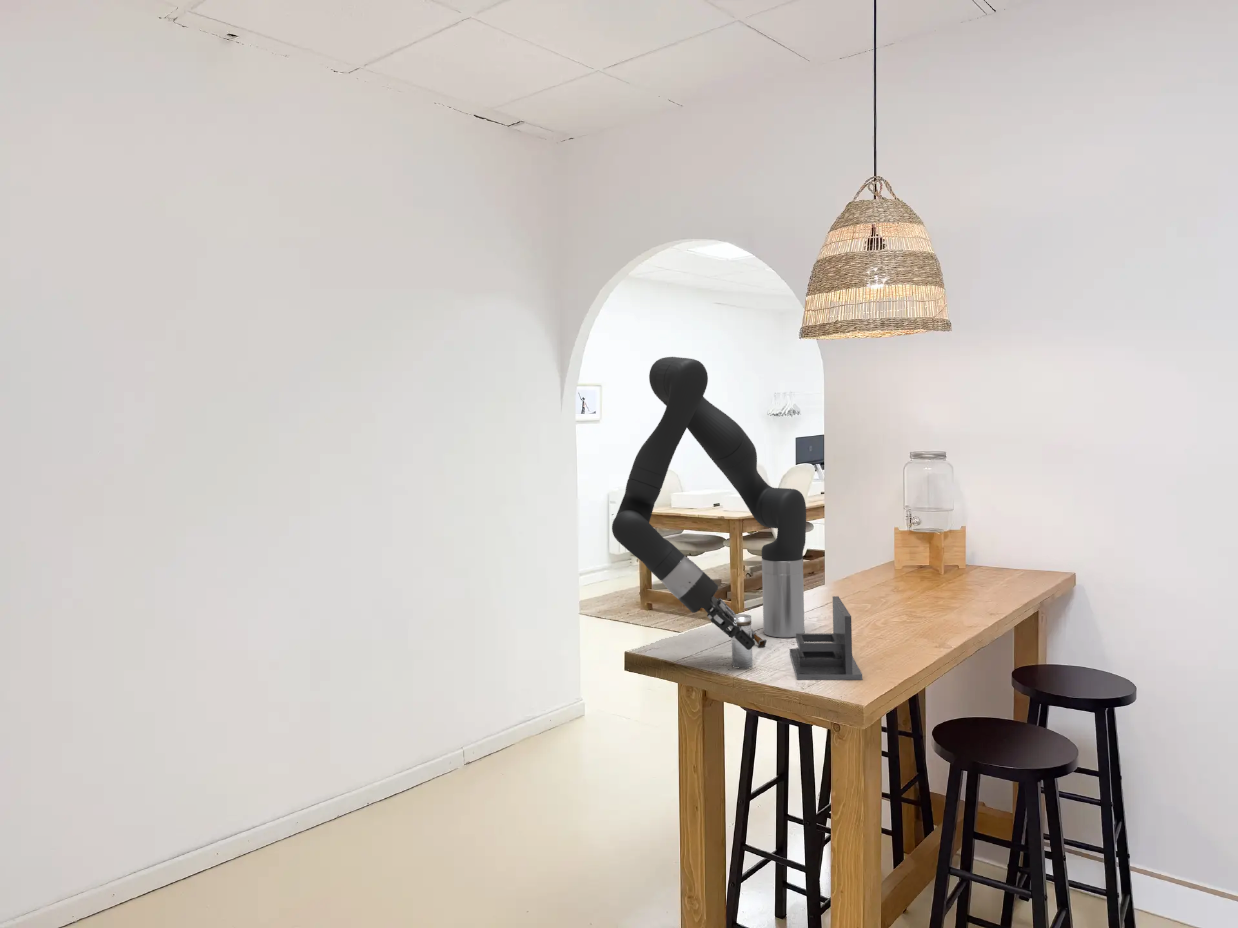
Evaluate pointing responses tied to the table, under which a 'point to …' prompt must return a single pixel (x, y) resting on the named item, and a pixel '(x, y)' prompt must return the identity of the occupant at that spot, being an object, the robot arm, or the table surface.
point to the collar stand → (827, 651)
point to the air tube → (739, 652)
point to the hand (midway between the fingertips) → (751, 643)
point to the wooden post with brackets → (759, 640)
